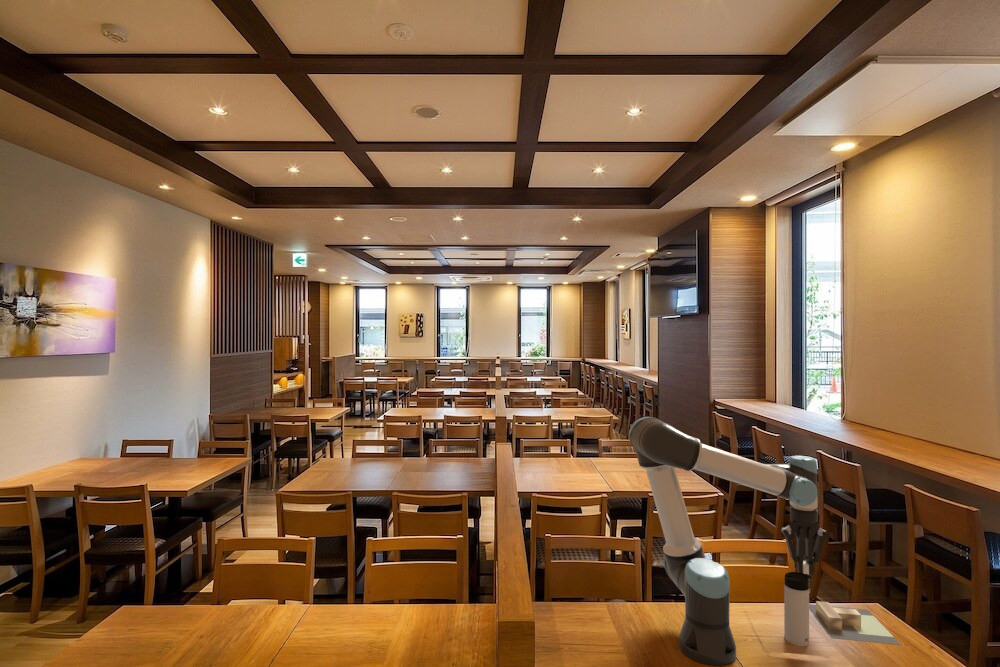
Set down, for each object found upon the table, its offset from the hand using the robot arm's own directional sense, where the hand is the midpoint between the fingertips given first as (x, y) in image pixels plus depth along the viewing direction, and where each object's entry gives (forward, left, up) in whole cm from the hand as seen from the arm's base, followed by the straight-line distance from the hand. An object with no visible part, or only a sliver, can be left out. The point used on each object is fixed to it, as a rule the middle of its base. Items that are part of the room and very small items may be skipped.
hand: (804, 583), depth 166 cm
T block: (+10, 0, -11) cm, 15 cm away
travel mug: (-6, -13, -12) cm, 19 cm away
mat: (+13, 0, -12) cm, 17 cm away
